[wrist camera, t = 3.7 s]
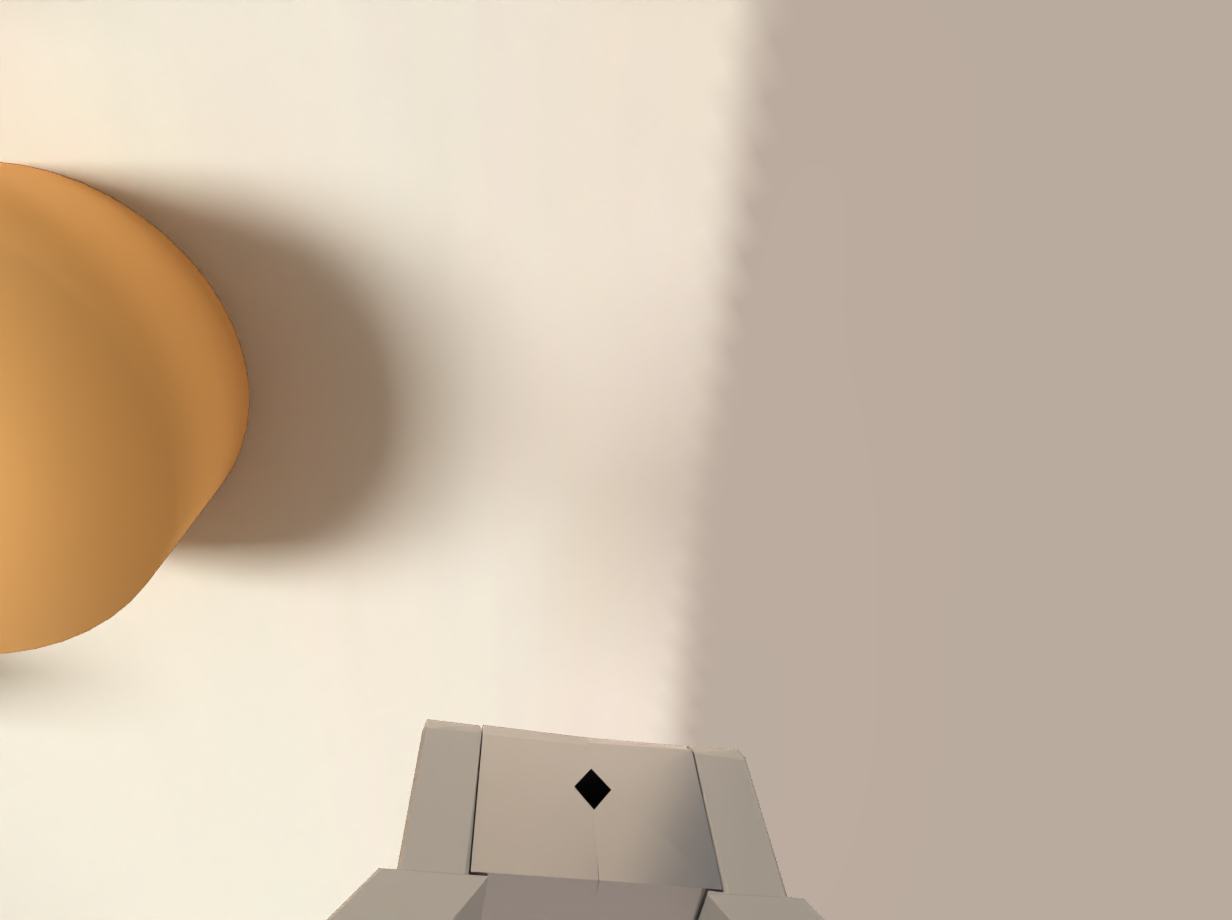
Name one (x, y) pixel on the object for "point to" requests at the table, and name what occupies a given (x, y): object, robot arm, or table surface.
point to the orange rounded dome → (101, 404)
